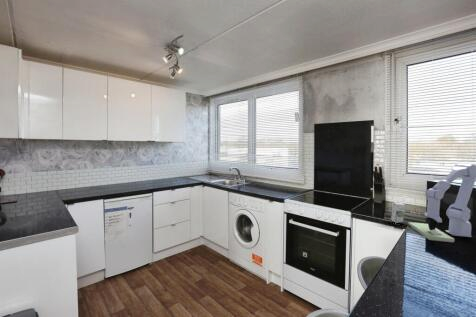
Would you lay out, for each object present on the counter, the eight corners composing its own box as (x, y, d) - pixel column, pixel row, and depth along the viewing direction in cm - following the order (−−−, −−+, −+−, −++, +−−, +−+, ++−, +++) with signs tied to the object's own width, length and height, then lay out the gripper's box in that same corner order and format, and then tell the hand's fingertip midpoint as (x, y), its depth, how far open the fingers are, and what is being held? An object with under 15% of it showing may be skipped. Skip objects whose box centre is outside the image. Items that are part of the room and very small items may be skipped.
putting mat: (428, 226, 153) (428, 223, 153) (454, 242, 128) (454, 238, 128) (408, 224, 157) (408, 222, 156) (429, 239, 131) (429, 236, 131)
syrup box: (398, 222, 163) (399, 202, 162) (404, 224, 157) (405, 204, 156) (390, 221, 163) (391, 201, 162) (395, 224, 157) (396, 203, 157)
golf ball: (438, 238, 137) (436, 232, 139) (441, 235, 134) (440, 229, 137) (430, 236, 138) (428, 230, 140) (434, 233, 135) (432, 227, 138)
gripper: (419, 205, 147) (418, 225, 147) (432, 211, 133) (430, 233, 133) (432, 206, 145) (431, 226, 146) (446, 212, 131) (445, 235, 132)
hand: (431, 230), depth 139 cm, fingers closed
